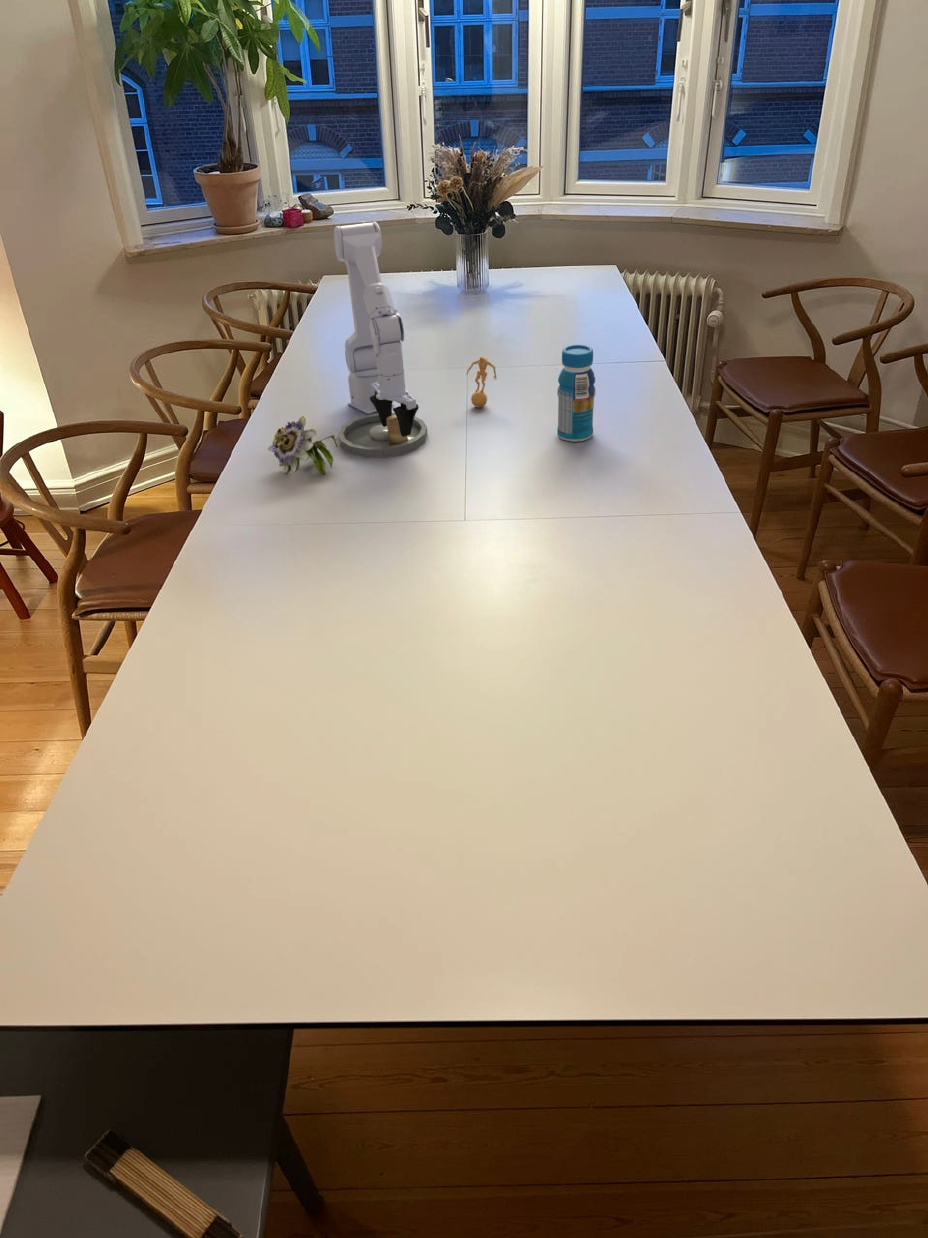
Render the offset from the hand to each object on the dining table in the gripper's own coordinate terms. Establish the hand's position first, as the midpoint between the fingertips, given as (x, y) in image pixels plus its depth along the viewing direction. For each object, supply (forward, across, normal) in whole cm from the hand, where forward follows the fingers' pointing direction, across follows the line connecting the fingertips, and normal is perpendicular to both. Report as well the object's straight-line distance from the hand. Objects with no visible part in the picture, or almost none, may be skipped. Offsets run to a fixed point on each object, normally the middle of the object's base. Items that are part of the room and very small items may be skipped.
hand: (396, 430), depth 198 cm
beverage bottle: (+4, +24, +33) cm, 41 cm away
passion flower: (+4, -6, -21) cm, 22 cm away
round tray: (+4, -6, 0) cm, 7 cm away
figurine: (+4, -5, +29) cm, 30 cm away
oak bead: (+3, 0, 0) cm, 3 cm away
